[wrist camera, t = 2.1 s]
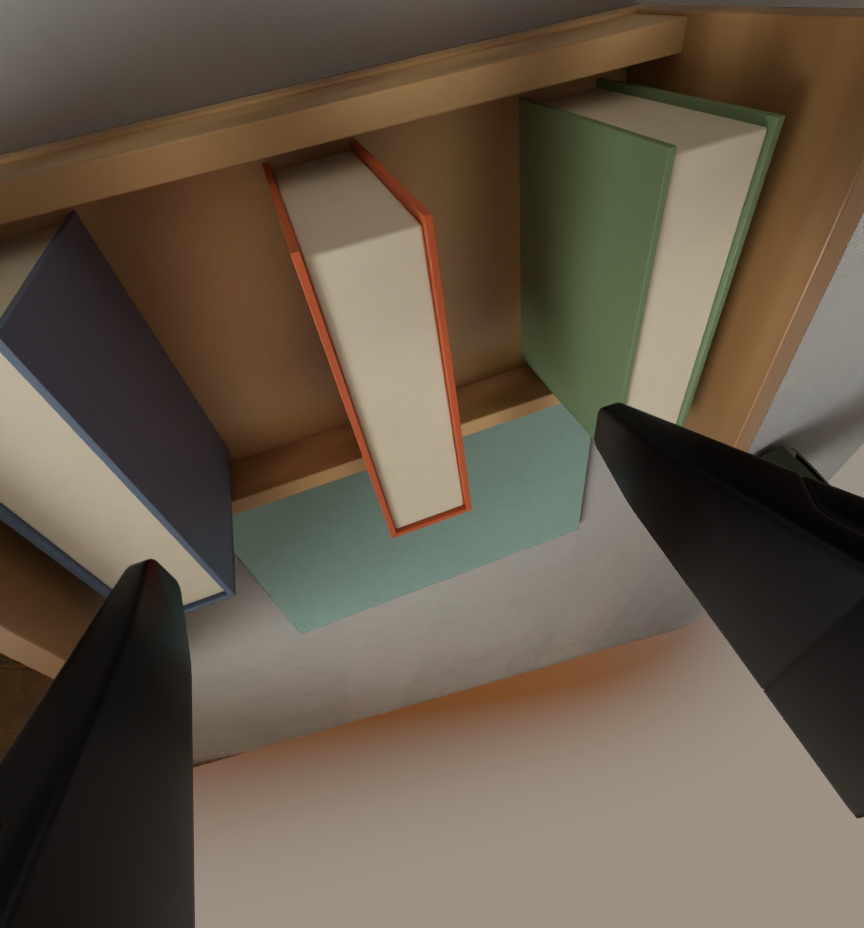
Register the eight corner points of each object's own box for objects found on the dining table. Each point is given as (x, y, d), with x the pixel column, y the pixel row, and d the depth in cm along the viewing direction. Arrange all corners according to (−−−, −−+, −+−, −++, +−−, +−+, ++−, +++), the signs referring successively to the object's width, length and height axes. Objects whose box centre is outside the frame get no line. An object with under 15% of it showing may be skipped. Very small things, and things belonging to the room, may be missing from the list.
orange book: (356, 139, 15) (432, 213, 10) (411, 391, 22) (472, 510, 17) (261, 163, 15) (290, 253, 9) (349, 412, 22) (392, 539, 17)
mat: (594, 380, 27) (598, 384, 27) (575, 525, 37) (578, 529, 37) (205, 512, 24) (205, 518, 24) (299, 629, 34) (300, 634, 34)
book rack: (637, 3, 16) (964, 8, 9) (595, 343, 25) (738, 472, 18) (-138, 186, 13) (-522, 398, 6) (142, 492, 22) (113, 709, 16)
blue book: (75, 210, 14) (-3, 335, 9) (229, 451, 21) (236, 595, 16) (-35, 238, 14) (-182, 384, 8) (161, 473, 21) (145, 628, 16)
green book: (601, 76, 16) (786, 115, 11) (577, 337, 23) (681, 434, 18) (518, 98, 16) (669, 147, 10) (520, 356, 23) (610, 459, 18)
